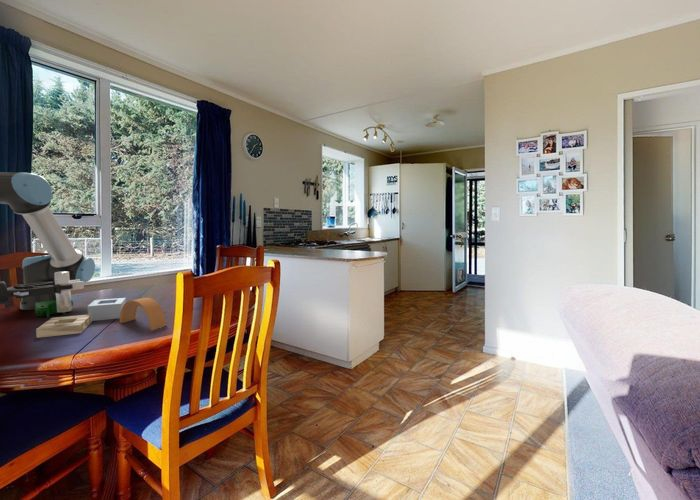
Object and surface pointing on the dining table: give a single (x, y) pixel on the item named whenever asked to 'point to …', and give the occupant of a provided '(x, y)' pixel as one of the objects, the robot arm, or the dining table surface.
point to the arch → (150, 309)
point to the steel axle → (63, 292)
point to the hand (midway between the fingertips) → (81, 283)
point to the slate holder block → (106, 308)
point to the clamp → (47, 308)
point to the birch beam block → (64, 326)
